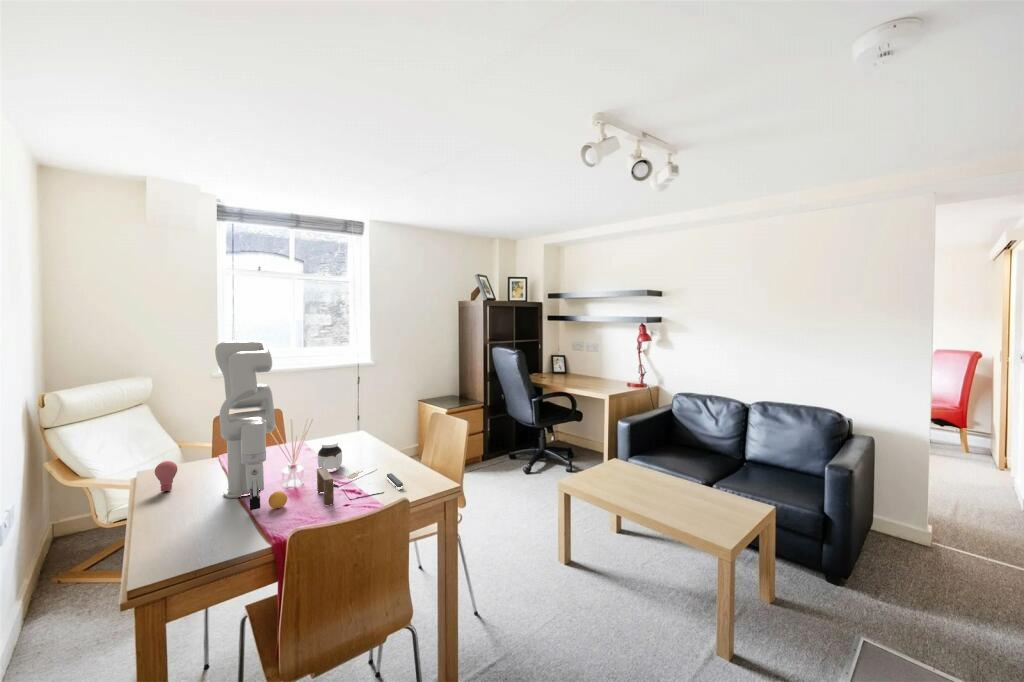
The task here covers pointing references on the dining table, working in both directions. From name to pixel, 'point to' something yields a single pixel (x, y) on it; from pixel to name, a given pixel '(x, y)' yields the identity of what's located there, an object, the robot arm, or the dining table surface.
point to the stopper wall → (395, 480)
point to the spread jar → (330, 455)
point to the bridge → (325, 485)
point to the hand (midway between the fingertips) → (255, 508)
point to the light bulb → (166, 474)
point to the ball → (277, 499)
